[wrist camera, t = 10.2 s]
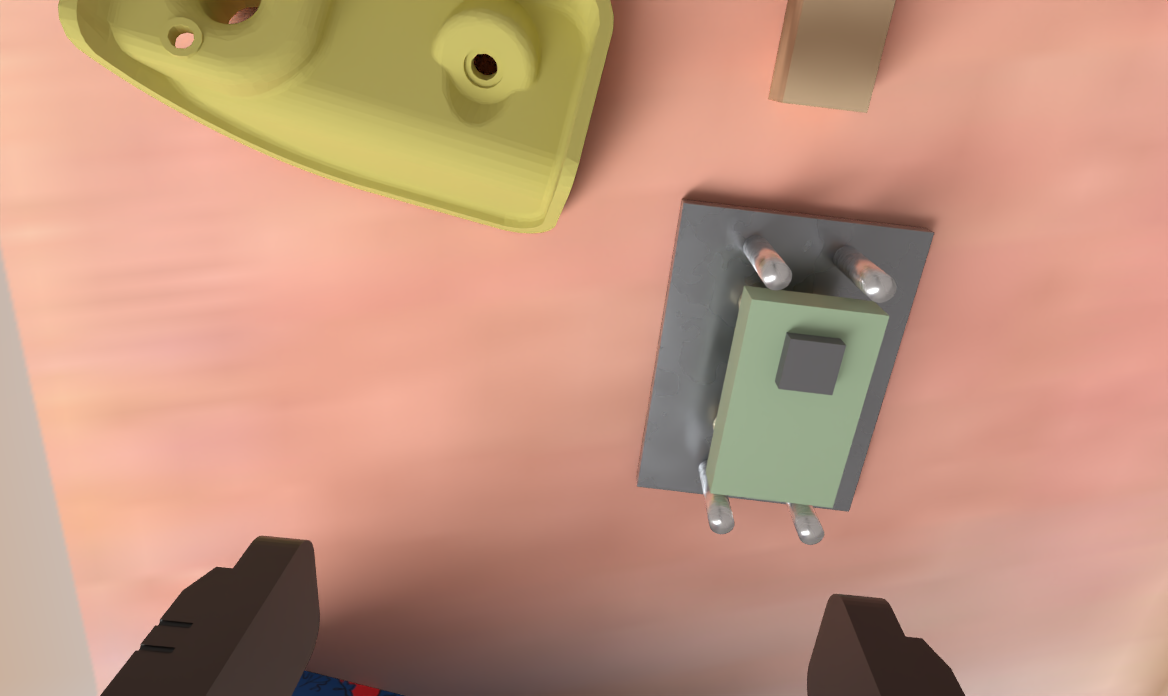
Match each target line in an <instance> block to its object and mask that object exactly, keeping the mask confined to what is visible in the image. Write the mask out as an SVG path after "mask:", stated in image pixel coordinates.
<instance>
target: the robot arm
mask: <svg viewBox="0 0 1168 696" xmlns="http://www.w3.org/2000/svg"><path fill="white" fill-rule="evenodd" d="M319 622H320V611H319V600H318V589H317V578H316V567H315V556H314V548H313V545H312V543H311V542H310V541H309V540H300V539H290V538H280V537H270V536H259V537H257V538H256V539H255V540H254V541H253V542H252V543H251V544H250V546H249V547H248V548H247V550H246V551H245V553H244V554H243V555H242V557H241V558H240V559H239V561H238V562H237V564H236V565H235V566H234V568H233V569H232V568H222V567H215V568H214V569H213V570H211V571H210V572H208V573H207V574H206V575H204V576H203V577H201V578H200V579H198V580H197V581H196V582H194V583H193V584H191V585H190V586H189V587H187V588H186V589H184V590H183V591H182V592H181V594H180V595H179V596H178V597H177V599H176V600H175V601H174V602H173V604H172V605H171V606H170V608H169V609H168V610H167V611H166V613H165V614H164V615H163V616H162V618H161V619H160V623H159V625H158V626H155V627H154V628H153V629H152V630H151V632H150V633H149V634H148V636H147V637H146V638H145V639H144V641H143V642H142V643H141V647H140V649H139V651H135V652H134V653H133V655H132V656H131V657H130V658H129V660H128V661H127V662H126V663H125V665H124V666H123V667H122V669H121V670H120V671H119V672H118V674H117V675H116V676H115V677H114V679H113V680H112V681H111V683H110V684H109V685H108V686H107V688H106V689H105V690H104V691H103V693H102V694H101V695H100V696H292V694H293V692H294V690H295V688H296V686H297V684H298V682H299V680H300V678H301V676H302V674H303V672H304V670H305V668H306V666H307V664H308V662H309V660H310V657H311V655H312V652H313V650H314V647H315V643H316V640H317V635H318V630H319ZM807 692H808V696H965V694H964V692H963V690H962V689H961V687H960V685H959V683H958V681H957V679H956V677H955V675H954V673H953V672H952V670H951V668H950V667H949V666H948V665H947V664H946V663H945V662H944V661H943V660H942V659H941V658H940V657H939V656H938V655H937V654H936V653H935V652H934V650H933V649H932V648H931V647H930V646H929V645H928V644H927V643H926V642H925V641H924V640H923V639H922V638H912V637H905V635H904V633H903V631H902V629H901V627H900V624H899V622H898V620H897V618H896V616H895V614H894V612H893V610H892V608H891V606H890V604H889V603H888V602H887V601H886V600H885V599H882V598H873V597H862V596H852V595H842V594H833V595H832V596H831V597H830V598H829V600H828V603H827V606H826V609H825V612H824V616H823V619H822V622H821V626H820V629H819V632H818V636H817V639H816V643H815V646H814V649H813V653H812V656H811V659H810V663H809V667H808V675H807Z"/></svg>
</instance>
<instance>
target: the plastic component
mask: <svg viewBox="0 0 1168 696" xmlns="http://www.w3.org/2000/svg"><path fill="white" fill-rule="evenodd" d="M249 7H258V10H257V11H256V12H255V13H254V14H253V15H252V16H251V17H250V18H248V19H247V20H245V21H242V22H240V23H235V24H228V23H229V20H230V19H231V18H232V17H233V16H234V15H235V14H236V13H237V12H238V11H240V10H242V9H245V8H249ZM58 11H59V19H60V22H61V24H62V27H63V29H64V31H65V34H66V36H67V37H68V38H69V40H70V41H71V42H72V43H73V44H74V45H75V46H76V47H77V48H78V49H79V50H81V51H82V52H83V53H85V54H86V55H88V56H89V57H90V58H92V59H93V60H95V61H96V62H98V63H99V64H101V65H102V66H104V67H105V68H107V69H108V70H110V71H111V72H113V73H114V74H116V75H117V76H119V77H121V78H122V79H124V80H125V81H127V82H128V83H130V84H132V85H133V86H135V87H136V88H138V89H140V90H142V91H143V92H145V93H147V94H148V95H150V96H152V97H154V98H155V99H157V100H159V101H160V102H162V103H164V104H166V105H167V106H169V107H171V108H173V109H175V110H177V111H178V112H180V113H182V114H184V115H186V116H188V117H189V118H191V119H193V120H195V121H197V122H199V123H201V124H203V125H205V126H207V127H209V128H211V129H213V130H215V131H217V132H219V133H221V134H223V135H225V136H227V137H229V138H231V139H233V140H235V141H237V142H239V143H241V144H243V145H246V146H248V147H250V148H252V149H255V150H257V151H259V152H261V153H264V154H266V155H268V156H271V157H273V158H275V159H277V160H280V161H282V162H285V163H287V164H290V165H292V166H295V167H298V168H300V169H303V170H305V171H308V172H310V173H313V174H316V175H319V176H322V177H324V178H327V179H330V180H333V181H336V182H339V183H342V184H345V185H348V186H351V187H354V188H357V189H360V190H364V191H367V192H371V193H374V194H378V195H381V196H385V197H389V198H392V199H396V200H399V201H403V202H406V203H410V204H413V205H417V206H421V207H424V208H428V209H431V210H435V211H438V212H442V213H445V214H449V215H452V216H456V217H460V218H463V219H467V220H470V221H474V222H477V223H481V224H484V225H488V226H492V227H495V228H499V229H502V230H506V231H512V232H518V233H542V232H546V231H549V230H551V229H552V228H554V227H555V225H556V223H557V221H558V219H559V216H560V214H561V212H562V209H563V207H564V205H565V203H566V200H567V198H568V196H569V193H570V191H571V188H572V185H573V182H574V179H575V175H576V172H577V168H578V165H579V161H580V157H581V153H582V149H583V146H584V142H585V138H586V134H587V130H588V126H589V122H590V118H591V114H592V110H593V107H594V103H595V99H596V95H597V91H598V87H599V83H600V79H601V75H602V71H603V68H604V64H605V60H606V56H607V52H608V48H609V44H610V40H611V36H612V32H613V19H614V15H613V10H612V5H611V1H610V0H60V1H59V4H58ZM187 32H188V33H192V34H194V41H193V43H192V45H191V46H189V47H187V48H186V49H181V48H176V47H175V42H176V38H177V37H178V36H179V35H180V34H183V33H187ZM477 54H488V55H489V56H491V57H493V59H494V60H495V62H496V63H497V72H495V73H494V74H492V75H483V74H482V73H480V72H479V71H477V69H476V67H475V65H474V64H473V62H474V57H475V56H476V55H477Z"/></svg>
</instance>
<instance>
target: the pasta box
mask: <svg viewBox="0 0 1168 696" xmlns="http://www.w3.org/2000/svg"><path fill="white" fill-rule="evenodd" d="M292 696H404V695H400V694H396V693H392V692H388V691H384V690H380V689H376V688H372V687H368V686H364V685H360V684H356V683H352V682H348V681H344V680H340V679H336V678H332V677H328V676H324V675H320V674H316V673H312V672H308V671H304V672H303V674H302V676H301V678H300V680H299V682H298V684H297V686H296V688H295V690H294V692H293V694H292Z"/></svg>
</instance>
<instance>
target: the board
mask: <svg viewBox="0 0 1168 696" xmlns="http://www.w3.org/2000/svg"><path fill="white" fill-rule="evenodd" d="M888 319H889V315H888V314H887V313H886V312H885V311H884V310H883V309H882V308H881V307H880V306H879V305H877V304H876V303H875V302H874V301H868V300H860V299H852V298H843V297H835V296H827V295H818V294H810V293H802V292H793V291H785V290H777V291H776V290H771V289H768V288H760V287H752V286H744V288H743V293H742V298H741V303H740V307H739V312H738V317H737V322H736V327H735V331H734V336H733V341H732V346H731V351H730V356H729V360H728V365H727V370H726V375H725V380H724V384H723V389H722V394H721V399H720V404H719V408H718V413H717V418H716V423H715V428H714V432H713V437H712V442H711V447H710V452H709V456H708V461H707V466H706V476H707V481H708V485H709V490H710V493H712V494H720V495H729V496H737V497H745V498H754V499H762V500H771V501H779V502H787V503H796V504H804V505H812V506H821V507H829V508H833V505H834V501H835V498H836V495H837V491H838V488H839V485H840V481H841V478H842V474H843V471H844V468H845V464H846V461H847V458H848V454H849V451H850V447H851V444H852V441H853V437H854V434H855V431H856V427H857V424H858V421H859V417H860V414H861V410H862V407H863V404H864V400H865V397H866V394H867V390H868V387H869V383H870V380H871V377H872V373H873V370H874V367H875V363H876V360H877V357H878V353H879V350H880V346H881V343H882V340H883V336H884V333H885V330H886V326H887V323H888Z"/></svg>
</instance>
